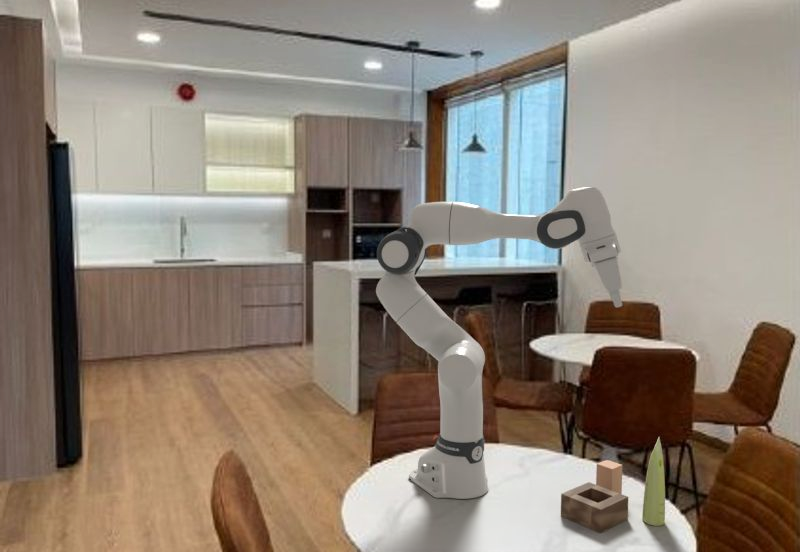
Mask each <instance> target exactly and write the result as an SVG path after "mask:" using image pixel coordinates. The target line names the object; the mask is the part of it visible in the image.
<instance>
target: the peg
mask: <svg viewBox="0 0 800 552" xmlns="http://www.w3.org/2000/svg"><path fill="white" fill-rule="evenodd" d="M595 473H596V475H595V477H596V478H595V485H598V486H601V487H603V488H606V489H609V490H611V491H614V492H617V493H619V494H622V491H623V489H622V488H623V464H620V463H618V462H616V461H612V460H609V459H606V460H603V461H601V462H597V463H596V472H595ZM622 495H623V494H622Z"/></svg>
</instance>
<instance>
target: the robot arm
mask: <svg viewBox="0 0 800 552" xmlns="http://www.w3.org/2000/svg"><path fill="white" fill-rule="evenodd" d="M610 213H611V212H610V210H609V207H608V204H607V202H606V200H605V198H604V194H603V193H602V191H600V189H598V188H596V187H593V186H589V187H587V186H586V187H579V188H574V189H570V190H569V191H568V192H567V193H566V195H564V197H563V198H562V199H561V200H560V201H559V202H558V203H557V204H556V205H555V206H553V207H552V208H551V209H550V210H548V211H544V212H543V213H540V214H534V215H524V214H523V215H521V214H507V213H500V212H496V211H493V210H490V209H488V208H486V207H483V206H481V205H480V206H479V205H476V204H471V203H468V202H460V201H432V202H424V203H419V204H417V205H415V206H414V207H413V209H412V210H411V212H410V214H409V217H408V224H407V225H406V226H402V227H401V228H399V229H397V230H394V231H393V232H392V231H391V232H390V233H389V234H387V235H385V236H384V237H383V238H382V239H381V240H380V242H379V244H378V245H377V250H376V258H377V261H378V264H379V265H380V266H381V268H382V269H383V270H384V271H386V272H385V273H384V275H383V276H382V277H381V278H380V279H379V281H378V282H377V284H376V288H375V293H376V296H377V298H378V301H379V302H380V304H381V305H382V306H383V308H384V309H385V310H386V313H387V314H389V316H390V317H391V318H392V319H393V321H394V322H396V325H398V326H399V327H400V328H401V330H403V332H404V333H405V334H407V336H408V337H409V338H410V340H412V342H414V343H415V345H417V346H418V347H420V348H422V349H423V350H425V352H426V353H428V354H429V355H431V356H432V357H433V358H434V359H435V360H437V363H438V364H437V375H438V376H437V380H438V392H439V393H438V394H439V401H440V402H439V403H440V420H439V421H440V425H439V426H440V432H439V433H436V434H435V435H434V434H433V435H432V436H433V437H434V438H433V439H432V440H436V442H435V445H434V446H433V447H431V448H430V449H428V450H427V451H425V453H422V454H421V456H420V457H419V459H418V461H417V469H415V470H413V471H411V472H410V473H409V474H408V479H409V478H410V479H411V480H410V479H409V480H410V481H411V482H413V483H415V484H416V485H417V486H418V487H420V488H421V489H422V490H424V491H426V493H428V494H429V495H431V496H432V497H433V498H437V499H438V498H439V499H442V498H443V499H445V498H449V499H460V500H462V499H463V500H465V499H467V500H469V499H474V498H479V497H481V496H483V495H486V493H487V492H488V491H489V486H488V476H487V475H486V466H485V454H484V452H485V436H484V434H483V430H484V429H483V426H484V425H483V424H484V423H483V421H484V404H483V403H484V402H483V382H482V381H483V370H484V366H485V363H486V355H485V351H484V349H483V348H482V346H481V344H480V343H479V342H478V341H476V340H475V339H474V338H473V337H472V336H471V335H470V334H469V333H468V332H467V331H466V330H465V329H464V328H462V327H461V326H460V325H459V324H457V323H456V322H455V321H454V320H453V319H452V318H451V317H450V316H448V315H447V314H446V312H445V311H443V309H442V308H441V307H440V306H439V305H438V304H437V303H436V302H435V301H434V300H433V298H432V297H431V296H430V295H429V294H428V293H427V292H426V291H425V290H424V289H423V288H422V287H421V285H420V284H419V283H418V281H417V280H416V277H415V276H416V275H417V273H418V271H419V270H420V268H421V266H422V265H423V263H424V261H425V259H426V255H427V248H429V247H431V246H432V245H448V246H467V245H468V246H469V245H470V246H471V245H475V244H476V245H478V244H481V243H484V242H487V241H491V240H496V239H514V240H515V239H516V240H518V239H519V240H531V241H536V242H537V243H540V244H542V245H543V246H545V247H546V248H549V249H553V250H559V249H563V248H566V247H568V246H569V245H570V244H572V243H573V242H575V241H578V243H579V247H580V249H581V252H582V257H583V259H584V262H585V263H587V262H588V263H590V264H591V267H592V268H595V269H596V271H597V274H598V276H599V278H600V280H601V282H602V285H603V287H604V289H605V291H606V292H607V293H609V295H610V299H611V301H612V302H613V306H614V307H615V308H622V306H623V303H622V298H621V291H620V290H621V289H622V288H623V286H622V285H623V283H622V278H621V273H620V268H619V262H618V259H619V258H618V256H619V254H620V253H621V252H622V250H621V247H620V243H619V240H618V236H617V233H616V230H615V229H614V228H613V226H612V223H611V222H612V221H611V214H610Z"/></svg>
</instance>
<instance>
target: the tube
mask: <svg viewBox="0 0 800 552" xmlns="http://www.w3.org/2000/svg"><path fill="white" fill-rule="evenodd" d="M662 448H663V447H662V443H661V439H660V437H658V438H657V441H656V443H655V445H654V448H653V450H652V452H651V454H650V458H649V460H648V461H649V462H648V467H647V471H646V475H645V482H644V483H645V485H644V493H643V504H642V519H641V520H642V521H643V522H644V523H646V524H648V525H651V526H654V527H658V526H659V527H660V526H663V525H664V524H665V523H666V522H665V520H666V517H665V516H666V486H665V483H666V481H665V480H666V479H665V467H664V465H665V464H664V455H663V450H662Z"/></svg>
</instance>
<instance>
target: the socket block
mask: <svg viewBox="0 0 800 552" xmlns="http://www.w3.org/2000/svg"><path fill="white" fill-rule="evenodd" d="M560 494H561V495H560V499H561V500H560V517H562V518H565V519H567V520H570V521H571V522H573V523H576V524H579V525H581V526H584V527H586V528H588V529H590V530H592V531H594V532H597V533H599V534H602V533H604V532H606V531H608V530H610V529H611V528H613V527H615V526H617V525H619V524H621V523H623V522H626V521H627V520H628V519H629V518H628V517H629V496H627V495H625V494H619V493H617V492H614V491H611V490H609V489H606V488H603V487H601V486H598V485H596V483H592V482H586V483H584V484H581V485H579V486H576V487H573V488H572V489H569V490H567V491H564V492H562V493H560Z"/></svg>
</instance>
